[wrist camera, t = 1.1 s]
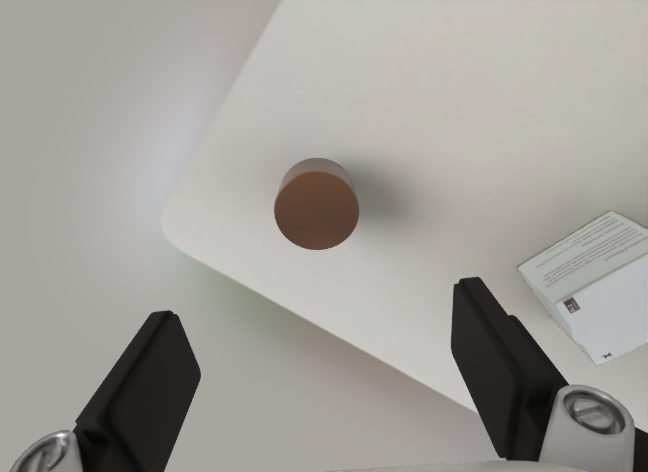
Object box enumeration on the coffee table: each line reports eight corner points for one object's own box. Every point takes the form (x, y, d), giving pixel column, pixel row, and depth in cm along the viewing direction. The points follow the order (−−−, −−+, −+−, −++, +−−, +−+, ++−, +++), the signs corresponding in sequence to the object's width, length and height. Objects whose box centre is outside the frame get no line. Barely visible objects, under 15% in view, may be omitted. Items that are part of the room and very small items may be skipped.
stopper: (278, 153, 23) (266, 177, 18) (348, 144, 23) (355, 166, 18) (290, 217, 25) (282, 254, 20) (354, 209, 25) (362, 245, 20)
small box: (646, 274, 28) (710, 316, 23) (554, 323, 30) (595, 370, 25) (611, 206, 25) (677, 239, 20) (513, 266, 27) (551, 307, 23)
